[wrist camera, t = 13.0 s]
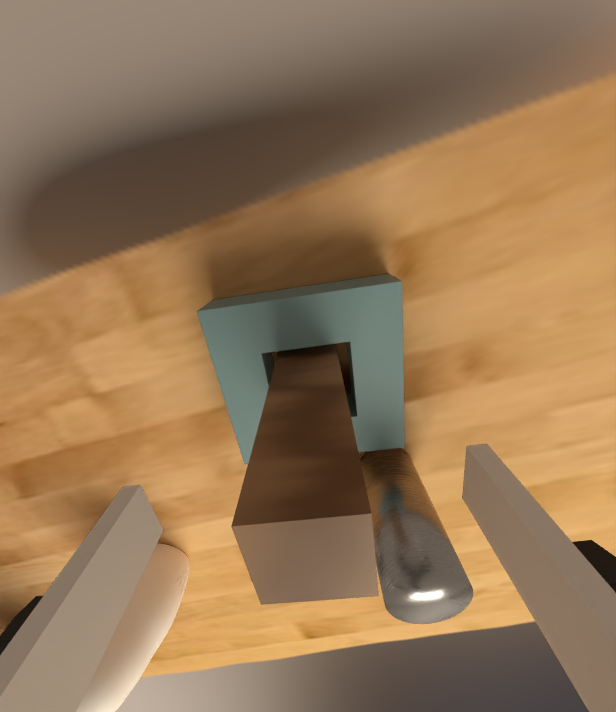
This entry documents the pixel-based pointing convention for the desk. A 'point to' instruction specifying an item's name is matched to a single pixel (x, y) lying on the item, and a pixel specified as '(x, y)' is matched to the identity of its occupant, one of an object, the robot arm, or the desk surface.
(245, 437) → the socket block
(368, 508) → the square bit
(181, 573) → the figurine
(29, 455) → the desk surface
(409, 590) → the round bit
